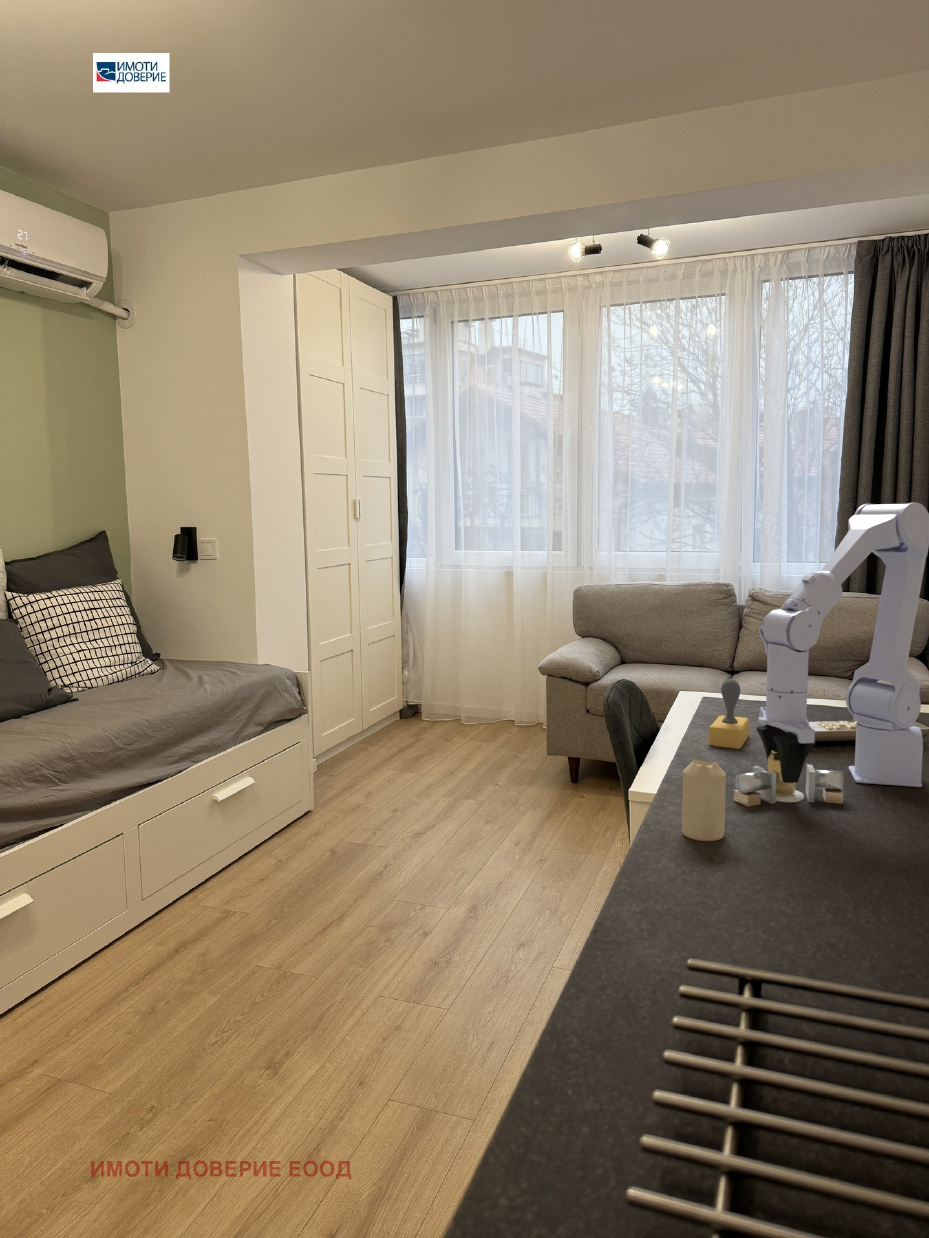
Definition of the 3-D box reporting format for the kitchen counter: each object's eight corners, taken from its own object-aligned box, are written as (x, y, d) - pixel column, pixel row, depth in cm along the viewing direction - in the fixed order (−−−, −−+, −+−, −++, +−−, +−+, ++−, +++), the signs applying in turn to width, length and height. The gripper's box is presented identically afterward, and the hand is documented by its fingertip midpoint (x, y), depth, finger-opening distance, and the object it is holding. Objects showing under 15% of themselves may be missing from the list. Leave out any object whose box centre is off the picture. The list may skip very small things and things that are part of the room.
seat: (802, 791, 128) (802, 789, 128) (806, 803, 123) (806, 801, 123) (761, 787, 130) (761, 786, 130) (763, 800, 124) (763, 798, 124)
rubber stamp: (740, 749, 152) (742, 685, 151) (708, 745, 155) (710, 682, 153) (749, 736, 161) (750, 675, 160) (718, 733, 164) (719, 673, 162)
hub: (783, 784, 129) (784, 748, 128) (801, 792, 125) (802, 755, 124) (761, 787, 128) (762, 751, 127) (779, 795, 124) (780, 758, 123)
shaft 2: (808, 801, 124) (809, 771, 123) (805, 793, 127) (806, 764, 127) (843, 804, 122) (844, 774, 122) (839, 795, 126) (840, 766, 125)
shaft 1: (756, 794, 127) (757, 765, 126) (775, 802, 123) (776, 772, 123) (731, 799, 125) (732, 769, 124) (750, 807, 121) (751, 777, 121)
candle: (726, 829, 113) (728, 758, 112) (721, 844, 108) (723, 769, 107) (685, 823, 115) (687, 754, 114) (678, 837, 110) (679, 764, 109)
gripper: (741, 680, 131) (739, 763, 133) (781, 700, 117) (778, 793, 119) (785, 679, 132) (782, 762, 133) (830, 699, 117) (826, 792, 119)
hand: (783, 777), depth 126 cm, fingers closed on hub, 4 cm apart
